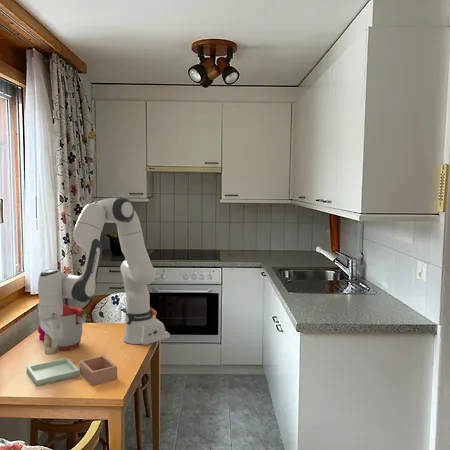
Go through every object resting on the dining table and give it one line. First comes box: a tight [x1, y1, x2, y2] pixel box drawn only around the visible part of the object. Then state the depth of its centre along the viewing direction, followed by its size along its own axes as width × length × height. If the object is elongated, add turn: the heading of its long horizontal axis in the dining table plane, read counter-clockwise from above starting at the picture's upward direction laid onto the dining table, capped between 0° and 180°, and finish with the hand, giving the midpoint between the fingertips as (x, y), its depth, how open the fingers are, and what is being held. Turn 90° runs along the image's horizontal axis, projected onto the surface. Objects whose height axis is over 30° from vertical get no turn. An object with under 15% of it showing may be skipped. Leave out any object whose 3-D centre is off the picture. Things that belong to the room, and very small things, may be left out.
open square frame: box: [78, 355, 118, 386], centre depth 178 cm, size 10×14×5 cm
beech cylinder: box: [43, 334, 59, 356], centre depth 179 cm, size 5×5×7 cm
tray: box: [26, 357, 81, 387], centre depth 180 cm, size 16×16×2 cm
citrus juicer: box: [58, 303, 87, 351], centre depth 209 cm, size 16×17×20 cm
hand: (51, 345), depth 179 cm, fingers closed on beech cylinder, 5 cm apart
